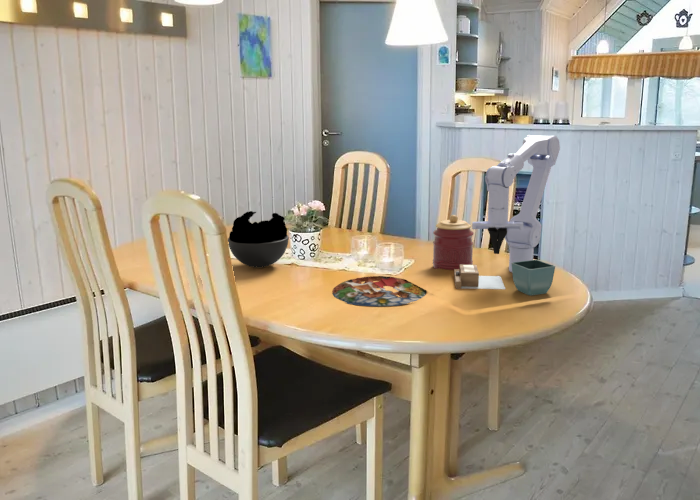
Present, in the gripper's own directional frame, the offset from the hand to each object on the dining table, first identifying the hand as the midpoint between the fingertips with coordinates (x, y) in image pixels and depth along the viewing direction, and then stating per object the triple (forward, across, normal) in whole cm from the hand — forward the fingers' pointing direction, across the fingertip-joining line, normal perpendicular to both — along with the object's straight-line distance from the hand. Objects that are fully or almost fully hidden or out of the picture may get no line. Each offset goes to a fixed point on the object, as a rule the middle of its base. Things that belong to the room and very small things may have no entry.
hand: (496, 253), depth 193 cm
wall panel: (+9, -5, -2) cm, 11 cm away
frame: (+8, -8, -2) cm, 12 cm away
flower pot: (+10, +9, -11) cm, 17 cm away
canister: (+10, -12, +18) cm, 24 cm away
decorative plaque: (+10, -34, -10) cm, 37 cm away
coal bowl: (+10, -76, +15) cm, 78 cm away
